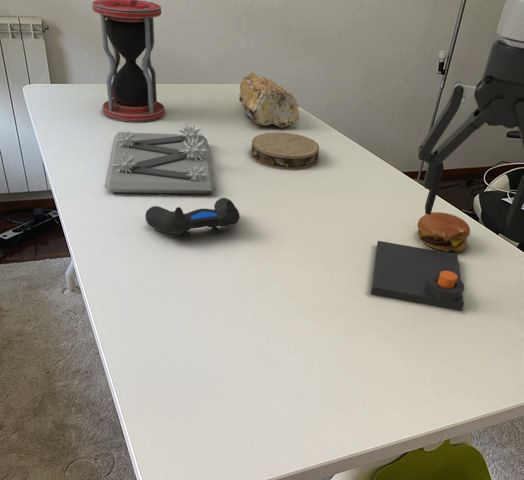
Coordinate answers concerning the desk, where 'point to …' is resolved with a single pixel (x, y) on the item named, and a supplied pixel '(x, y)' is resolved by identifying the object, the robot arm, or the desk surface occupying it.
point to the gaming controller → (193, 217)
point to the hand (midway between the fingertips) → (468, 216)
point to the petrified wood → (267, 102)
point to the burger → (443, 231)
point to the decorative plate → (160, 163)
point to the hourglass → (130, 59)
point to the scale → (416, 275)
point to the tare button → (447, 279)
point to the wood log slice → (284, 150)
